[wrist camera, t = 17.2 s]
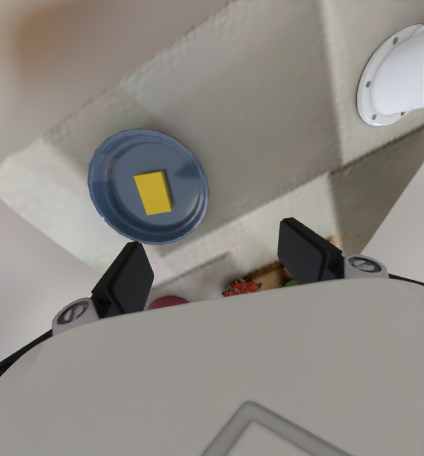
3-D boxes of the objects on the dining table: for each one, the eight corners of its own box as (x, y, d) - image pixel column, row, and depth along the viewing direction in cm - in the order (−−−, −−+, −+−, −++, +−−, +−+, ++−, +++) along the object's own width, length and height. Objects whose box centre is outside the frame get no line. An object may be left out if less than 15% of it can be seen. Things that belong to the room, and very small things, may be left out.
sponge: (139, 173, 28) (133, 176, 25) (163, 170, 28) (160, 171, 26) (150, 209, 31) (146, 215, 29) (173, 206, 31) (171, 211, 29)
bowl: (110, 110, 24) (94, 101, 20) (221, 160, 29) (226, 162, 25) (97, 217, 31) (83, 227, 27) (188, 243, 36) (188, 255, 32)
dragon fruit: (215, 290, 46) (248, 267, 46) (232, 316, 44) (266, 292, 44) (212, 298, 37) (253, 270, 37) (232, 331, 36) (275, 302, 36)
